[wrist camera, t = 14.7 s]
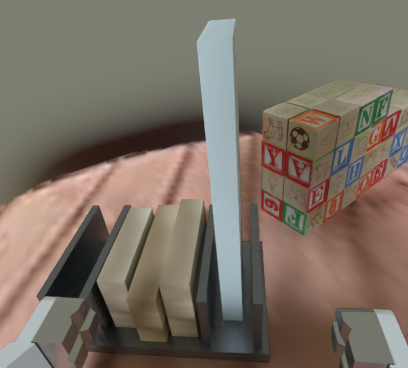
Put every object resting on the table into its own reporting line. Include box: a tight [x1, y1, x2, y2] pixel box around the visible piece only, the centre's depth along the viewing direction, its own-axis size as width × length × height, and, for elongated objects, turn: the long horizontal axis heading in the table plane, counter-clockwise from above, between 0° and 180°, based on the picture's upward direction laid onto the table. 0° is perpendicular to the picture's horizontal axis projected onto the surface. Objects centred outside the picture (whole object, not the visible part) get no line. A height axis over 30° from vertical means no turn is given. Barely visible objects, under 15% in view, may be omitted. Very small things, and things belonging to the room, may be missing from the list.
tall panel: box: [197, 19, 243, 321], centre depth 21 cm, size 2×6×20 cm, turn 174°
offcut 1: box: [97, 208, 154, 328], centre depth 26 cm, size 2×8×6 cm, turn 174°
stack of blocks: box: [261, 78, 408, 236], centre depth 36 cm, size 21×6×12 cm, turn 127°
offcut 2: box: [126, 205, 180, 342], centre depth 26 cm, size 2×10×5 cm, turn 174°
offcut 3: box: [159, 199, 207, 337], centre depth 26 cm, size 2×9×6 cm, turn 174°
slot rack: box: [37, 204, 269, 362], centre depth 27 cm, size 17×11×6 cm, turn 84°
